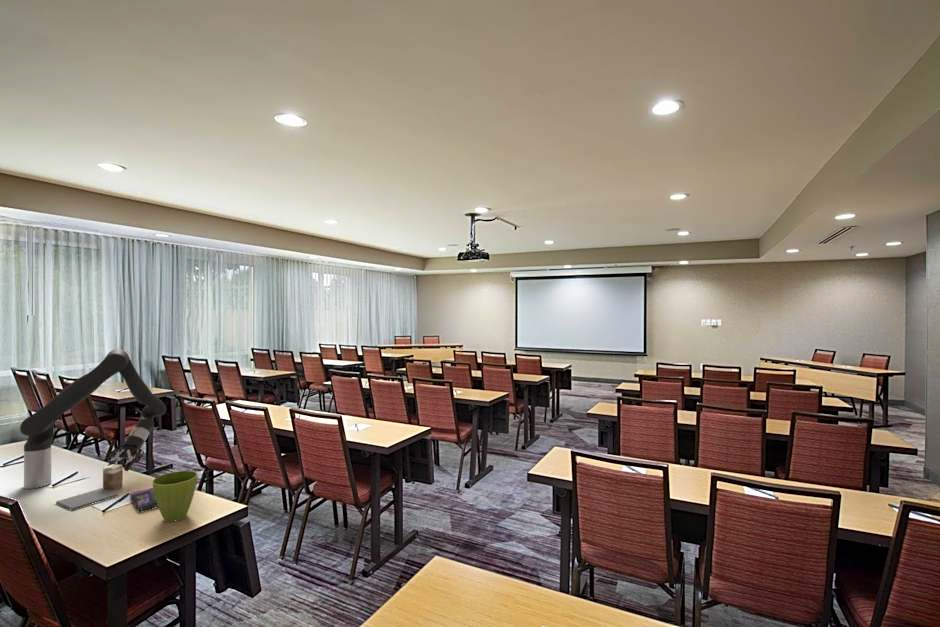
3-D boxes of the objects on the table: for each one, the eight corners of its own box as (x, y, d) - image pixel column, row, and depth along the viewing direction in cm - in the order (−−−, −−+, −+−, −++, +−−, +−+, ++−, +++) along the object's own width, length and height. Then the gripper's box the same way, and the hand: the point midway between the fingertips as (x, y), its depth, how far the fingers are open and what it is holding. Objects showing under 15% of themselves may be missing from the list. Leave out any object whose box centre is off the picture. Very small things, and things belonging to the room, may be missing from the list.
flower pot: (201, 518, 176) (201, 478, 176) (155, 530, 166) (155, 487, 166) (193, 506, 187) (193, 468, 187) (150, 517, 177) (150, 476, 177)
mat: (56, 503, 189) (56, 501, 189) (101, 490, 204) (101, 488, 204) (72, 510, 183) (72, 508, 183) (117, 496, 197) (117, 494, 197)
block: (102, 489, 204) (103, 468, 204) (112, 485, 209) (112, 464, 209) (113, 490, 204) (113, 468, 204) (122, 485, 209) (122, 464, 209)
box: (130, 500, 195) (138, 514, 181) (130, 492, 195) (138, 505, 181) (168, 491, 205) (178, 503, 191) (167, 483, 205) (178, 495, 191)
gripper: (118, 434, 218) (97, 466, 207) (146, 435, 217) (126, 466, 206) (127, 442, 223) (107, 473, 212) (154, 442, 222) (136, 474, 211)
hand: (116, 470), depth 209 cm, fingers open, 8 cm apart
